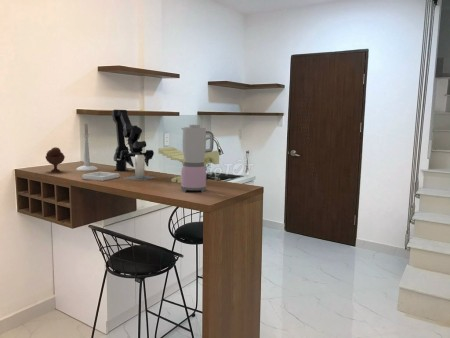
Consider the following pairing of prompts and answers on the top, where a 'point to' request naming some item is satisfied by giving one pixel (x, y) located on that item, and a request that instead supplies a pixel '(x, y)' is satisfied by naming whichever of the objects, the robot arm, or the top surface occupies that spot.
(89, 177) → the grey tray
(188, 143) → the blender
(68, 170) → the top surface
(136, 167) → the rolled placemat
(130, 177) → the rubber mat
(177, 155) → the slatted curved stool
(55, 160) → the ice cream bowl
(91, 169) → the candlestick
